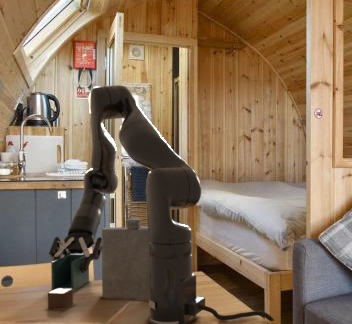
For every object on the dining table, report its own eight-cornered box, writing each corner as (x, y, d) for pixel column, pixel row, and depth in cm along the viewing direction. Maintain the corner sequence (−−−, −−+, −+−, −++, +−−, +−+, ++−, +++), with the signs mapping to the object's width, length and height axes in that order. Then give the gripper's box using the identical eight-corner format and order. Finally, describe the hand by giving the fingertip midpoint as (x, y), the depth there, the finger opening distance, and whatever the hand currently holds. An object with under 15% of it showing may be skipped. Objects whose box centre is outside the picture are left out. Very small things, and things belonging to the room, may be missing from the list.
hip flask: (100, 298, 116) (99, 219, 116) (107, 294, 120) (107, 217, 120) (160, 301, 113) (160, 220, 113) (166, 296, 117) (165, 218, 117)
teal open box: (68, 282, 132) (68, 254, 132) (89, 282, 132) (88, 254, 131) (51, 292, 122) (51, 261, 122) (73, 292, 122) (73, 262, 121)
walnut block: (57, 287, 111) (47, 292, 108) (72, 288, 111) (63, 293, 107) (57, 304, 112) (47, 309, 108) (73, 305, 111) (63, 310, 107)
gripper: (58, 214, 134) (37, 263, 123) (106, 214, 134) (90, 264, 122) (66, 230, 140) (47, 278, 128) (112, 230, 139) (98, 278, 127)
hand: (68, 271), depth 125 cm, fingers open, 7 cm apart
